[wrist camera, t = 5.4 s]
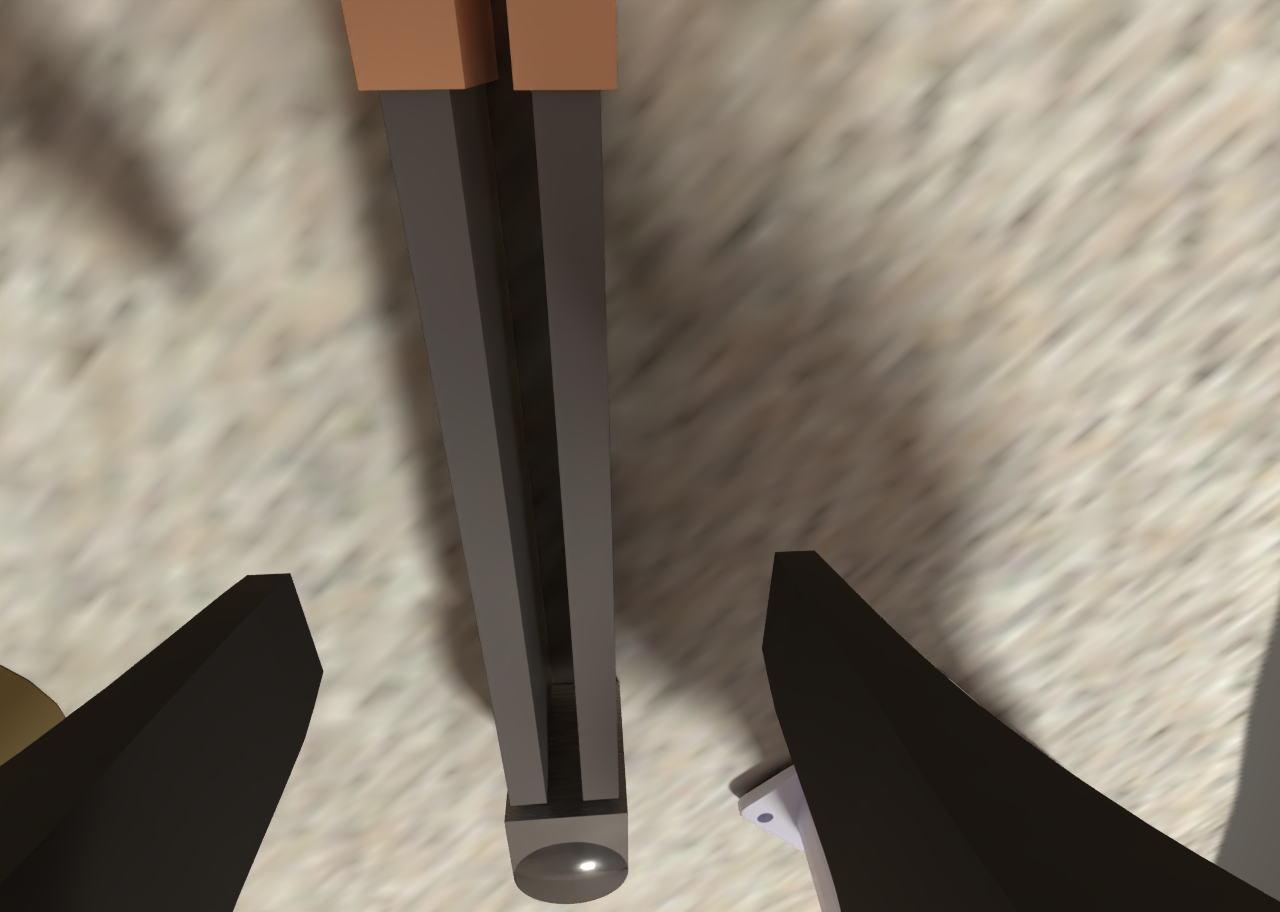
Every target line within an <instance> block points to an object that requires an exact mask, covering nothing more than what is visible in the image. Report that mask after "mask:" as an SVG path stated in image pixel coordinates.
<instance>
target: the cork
mask: <svg viewBox="0 0 1280 912" xmlns="http://www.w3.org/2000/svg"><path fill="white" fill-rule="evenodd" d="M64 719H65V717H64V715H63V714H62V712H61V710H60V709H59V707H58V706H57V704H55V703H54V702H53V701H52V700H51V699H49V698H48V697H47V696H46V695H45V694H44V693H42V692H41V691H40V690H39V689H38V688H36V687H35V686H34V685H33V684H32V683H31V682H29V681H27V680H25V679H24V678H22V677H20V676H18V675H16V674H14V673H12V672H10V671H9V670H7V669H5V668H3V667H1V666H0V766H1V765H2V764H4V763H5V762H7V761H8V760H9V759H11V758H12V757H14V756H15V755H16V754H18V753H19V752H21V751H22V750H23V749H25V748H26V747H27V746H29V745H30V744H31V743H33V742H34V741H35V740H37V739H38V738H39V737H41V736H42V735H43V734H45V733H46V732H47V731H49V730H50V729H51V728H53V727H54V726H55V725H57V724H58V723H59V722H61V721H62V720H64Z"/></svg>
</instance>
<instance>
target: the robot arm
mask: <svg viewBox="0 0 1280 912" xmlns="http://www.w3.org/2000/svg"><path fill="white" fill-rule="evenodd" d="M762 650H763V655H764V660H765V665H766V670H767V675H768V680H769V684H770V689H771V693H772V698H773V702H774V706H775V711H776V714H777V717H778V720H779V723H780V726H781V729H782V732H783V735H784V738H785V741H786V743H787V746H788V749H789V752H790V755H791V758H792V761H793V765H791V766H790V767H788V768H787V769H785V770H783V771H782V772H780V773H779V774H777V775H775V776H774V777H772V778H771V779H769V780H767V781H766V782H764V783H763V784H761V785H759V786H758V787H756V788H755V789H753V790H751V791H750V792H748V793H747V794H745V795H744V796H742V797H741V798H740V799H739V801H738V807H739V811H740V816H742V817H743V818H744V819H746V820H748V821H749V822H751V823H753V824H755V825H756V826H758V827H760V828H762V829H763V830H765V831H767V832H769V833H771V834H772V835H774V836H776V837H778V838H779V839H781V840H783V841H785V842H786V843H788V844H790V845H792V846H794V847H795V848H797V849H799V850H801V851H802V852H804V853H805V854H806V857H807V861H808V864H809V868H810V871H811V875H812V878H813V882H814V886H815V889H816V893H817V896H818V900H819V903H820V907H821V910H822V912H1280V902H1279V901H1278V900H1276V899H1274V898H1272V897H1271V896H1269V895H1267V894H1265V893H1264V892H1262V891H1260V890H1258V889H1257V888H1255V887H1253V886H1251V885H1250V884H1248V883H1246V882H1244V881H1243V880H1241V879H1239V878H1237V877H1236V876H1234V875H1232V874H1231V873H1229V872H1227V871H1226V870H1224V869H1222V868H1220V867H1219V866H1217V865H1215V864H1214V863H1212V862H1210V861H1208V860H1207V859H1205V858H1203V857H1201V856H1200V855H1198V854H1196V853H1195V852H1193V851H1191V850H1190V849H1188V848H1186V847H1185V846H1183V845H1182V844H1180V843H1178V842H1177V841H1175V840H1173V839H1172V838H1170V837H1169V836H1167V835H1165V834H1164V833H1162V832H1160V831H1159V830H1157V829H1155V828H1154V827H1152V826H1151V825H1149V824H1147V823H1146V822H1144V821H1143V820H1141V819H1140V818H1138V817H1137V816H1135V815H1134V814H1132V813H1131V812H1129V811H1127V810H1126V809H1124V808H1123V807H1121V806H1120V805H1118V804H1117V803H1115V802H1114V801H1112V800H1111V799H1109V798H1108V797H1106V796H1105V795H1103V794H1102V793H1100V792H1098V791H1097V790H1095V789H1094V788H1092V787H1091V786H1089V785H1088V784H1086V783H1085V782H1083V781H1082V780H1080V779H1079V778H1078V777H1076V776H1075V775H1073V774H1072V773H1070V772H1069V771H1067V770H1066V769H1065V768H1063V767H1062V766H1060V765H1059V764H1057V763H1056V762H1055V761H1053V760H1052V759H1050V758H1049V757H1048V756H1046V755H1045V754H1044V753H1042V752H1041V751H1040V750H1038V749H1037V748H1036V747H1034V746H1033V745H1032V744H1030V743H1029V742H1028V741H1026V740H1025V739H1023V738H1022V737H1021V736H1019V735H1018V734H1017V733H1015V732H1014V731H1013V730H1011V729H1010V728H1009V727H1007V726H1006V725H1005V724H1003V723H1002V722H1001V721H999V720H998V719H997V718H996V717H994V716H993V715H992V714H991V713H989V712H988V711H987V710H985V709H984V708H983V707H982V706H981V705H980V704H979V703H977V702H976V701H975V700H974V699H973V698H972V697H971V696H969V695H968V694H967V693H966V692H965V691H964V690H963V689H961V688H960V687H959V686H958V685H957V684H956V683H954V682H953V681H952V680H951V679H949V678H947V677H946V676H945V675H944V674H942V673H941V672H940V671H939V670H938V669H937V668H935V667H934V666H933V665H932V664H931V663H930V662H929V661H928V660H926V659H925V658H924V657H923V656H922V655H921V654H920V653H919V652H918V651H917V650H915V649H914V648H913V647H912V646H911V645H910V644H909V643H908V642H907V641H906V640H905V639H904V638H903V637H902V636H900V635H899V634H898V633H897V632H896V631H895V630H894V629H893V628H892V627H891V626H890V625H889V624H888V623H887V622H886V621H885V620H884V619H883V618H881V617H880V616H879V615H878V614H877V613H876V612H875V611H874V610H873V609H872V608H871V607H870V606H869V605H868V604H867V603H866V602H865V601H864V600H863V599H862V598H861V597H860V596H859V595H858V594H857V593H856V592H855V591H854V590H853V589H852V588H851V587H850V586H849V585H848V584H847V583H846V582H845V581H844V580H843V579H842V578H841V577H840V576H839V575H838V574H837V573H836V572H835V571H834V570H833V569H832V568H831V567H830V566H829V565H828V564H827V563H826V562H825V561H824V560H823V559H822V558H821V557H820V556H819V555H818V554H817V553H816V552H815V551H791V552H775V557H774V564H773V571H772V579H771V586H770V593H769V601H768V608H767V615H766V623H765V630H764V637H763V645H762ZM322 675H323V669H322V666H321V663H320V660H319V657H318V654H317V651H316V648H315V645H314V642H313V639H312V636H311V633H310V630H309V627H308V624H307V621H306V618H305V615H304V612H303V609H302V607H301V604H300V601H299V598H298V595H297V592H296V589H295V586H294V583H293V580H292V577H291V574H290V573H286V574H264V575H247V576H246V577H244V578H243V579H242V580H240V581H239V582H238V583H236V584H235V585H233V586H232V587H231V588H230V589H228V590H227V591H226V592H224V593H223V594H222V595H221V596H219V597H218V598H217V599H216V600H214V601H213V602H212V603H211V604H209V605H208V606H207V607H206V608H204V609H203V610H202V611H201V612H199V613H198V614H197V615H196V616H195V617H193V618H192V619H191V620H190V621H188V622H187V623H186V624H185V625H183V626H182V627H181V628H180V629H179V630H177V631H176V632H175V633H174V634H172V635H171V636H170V637H169V638H168V639H166V640H165V641H164V642H163V643H161V644H160V645H159V646H158V647H156V648H155V649H154V650H153V651H151V652H150V653H149V654H148V655H146V656H145V657H144V658H143V659H141V660H140V661H139V662H138V663H136V664H135V665H134V666H133V667H131V668H130V669H129V670H128V671H126V672H125V673H124V674H123V675H121V676H120V677H119V678H118V679H116V680H115V681H114V682H113V683H111V684H110V685H109V686H107V687H106V688H105V689H104V690H102V691H101V692H100V693H98V694H97V695H96V696H94V697H93V698H92V699H90V700H89V701H88V702H86V703H85V704H84V705H82V706H81V707H80V708H78V709H77V710H76V711H74V712H73V713H72V714H70V715H69V716H68V717H66V718H65V719H64V720H62V721H61V722H59V723H58V724H57V725H55V726H54V727H53V728H51V729H50V730H49V731H47V732H46V733H45V734H43V735H42V736H41V737H39V738H38V739H37V740H35V741H34V742H33V743H31V744H30V745H29V746H27V747H26V748H25V749H23V750H22V751H21V752H19V753H18V754H16V755H15V756H14V757H12V758H11V759H9V760H8V761H7V762H5V763H4V764H2V765H1V766H0V912H233V910H234V907H235V905H236V902H237V899H238V897H239V895H240V892H241V890H242V888H243V885H244V883H245V881H246V878H247V876H248V873H249V871H250V869H251V866H252V864H253V862H254V859H255V857H256V855H257V852H258V850H259V847H260V845H261V843H262V840H263V838H264V836H265V833H266V831H267V829H268V826H269V824H270V822H271V819H272V817H273V814H274V812H275V810H276V807H277V805H278V803H279V800H280V798H281V796H282V793H283V791H284V788H285V786H286V784H287V781H288V779H289V776H290V774H291V772H292V769H293V767H294V764H295V762H296V759H297V757H298V755H299V752H300V750H301V747H302V745H303V742H304V740H305V737H306V733H307V730H308V727H309V723H310V720H311V716H312V713H313V709H314V706H315V702H316V698H317V694H318V690H319V687H320V683H321V679H322Z"/></svg>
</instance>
